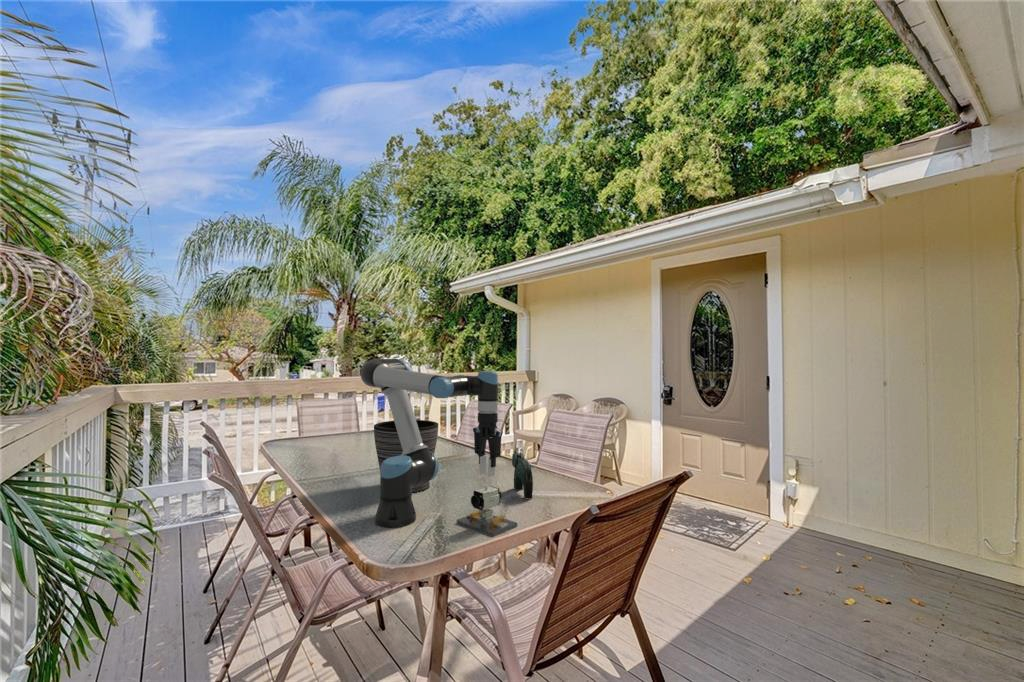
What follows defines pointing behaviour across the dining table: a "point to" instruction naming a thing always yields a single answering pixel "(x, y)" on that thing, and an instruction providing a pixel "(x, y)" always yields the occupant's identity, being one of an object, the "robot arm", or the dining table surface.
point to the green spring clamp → (522, 474)
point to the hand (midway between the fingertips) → (487, 474)
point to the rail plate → (487, 523)
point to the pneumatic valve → (486, 501)
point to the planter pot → (391, 445)
